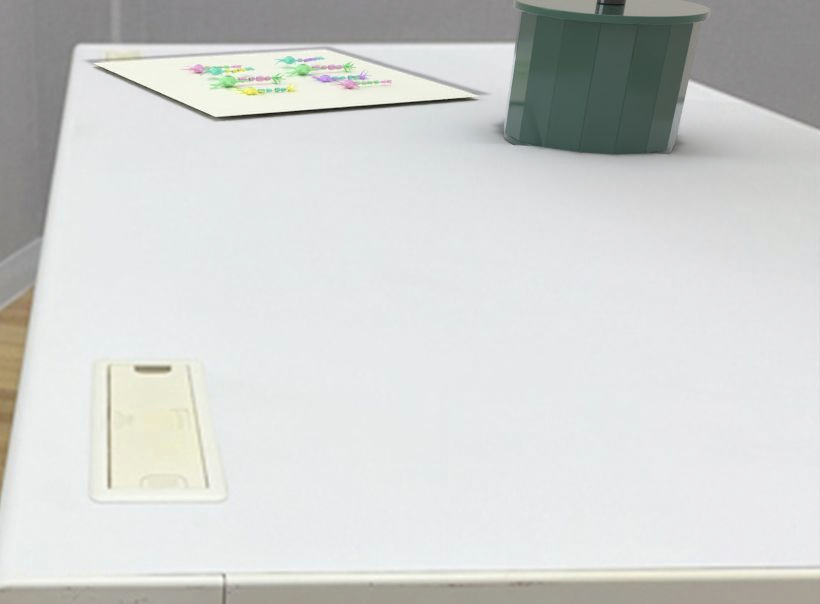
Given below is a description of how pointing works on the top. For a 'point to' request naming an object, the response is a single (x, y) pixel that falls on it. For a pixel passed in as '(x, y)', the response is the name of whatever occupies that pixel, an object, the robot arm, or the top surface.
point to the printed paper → (278, 82)
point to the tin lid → (618, 11)
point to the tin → (598, 85)
